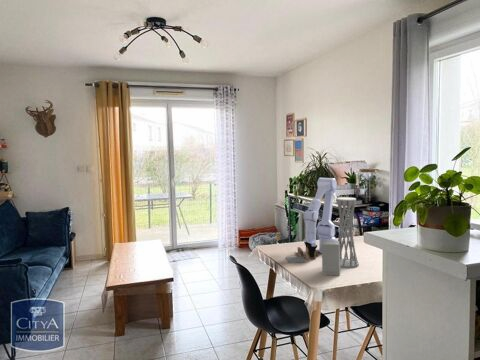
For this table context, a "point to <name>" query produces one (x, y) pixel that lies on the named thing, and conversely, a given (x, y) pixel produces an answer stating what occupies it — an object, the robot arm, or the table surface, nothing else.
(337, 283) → the table surface
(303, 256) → the shelf slot
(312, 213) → the robot arm
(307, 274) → the table surface
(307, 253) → the oak block
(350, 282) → the table surface
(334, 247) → the skincare box
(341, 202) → the vase
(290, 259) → the slate mat
